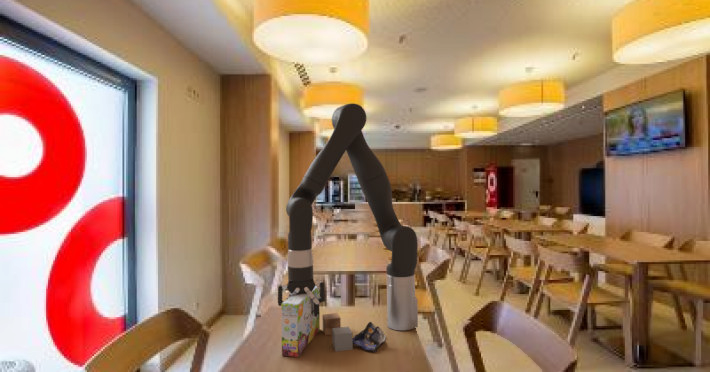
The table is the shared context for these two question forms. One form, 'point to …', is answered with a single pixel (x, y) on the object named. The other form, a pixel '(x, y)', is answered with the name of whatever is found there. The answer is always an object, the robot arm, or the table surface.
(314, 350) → the table surface
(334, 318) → the walnut block
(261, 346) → the table surface
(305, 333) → the snack box
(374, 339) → the snack package
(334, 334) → the slate block
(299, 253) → the robot arm
